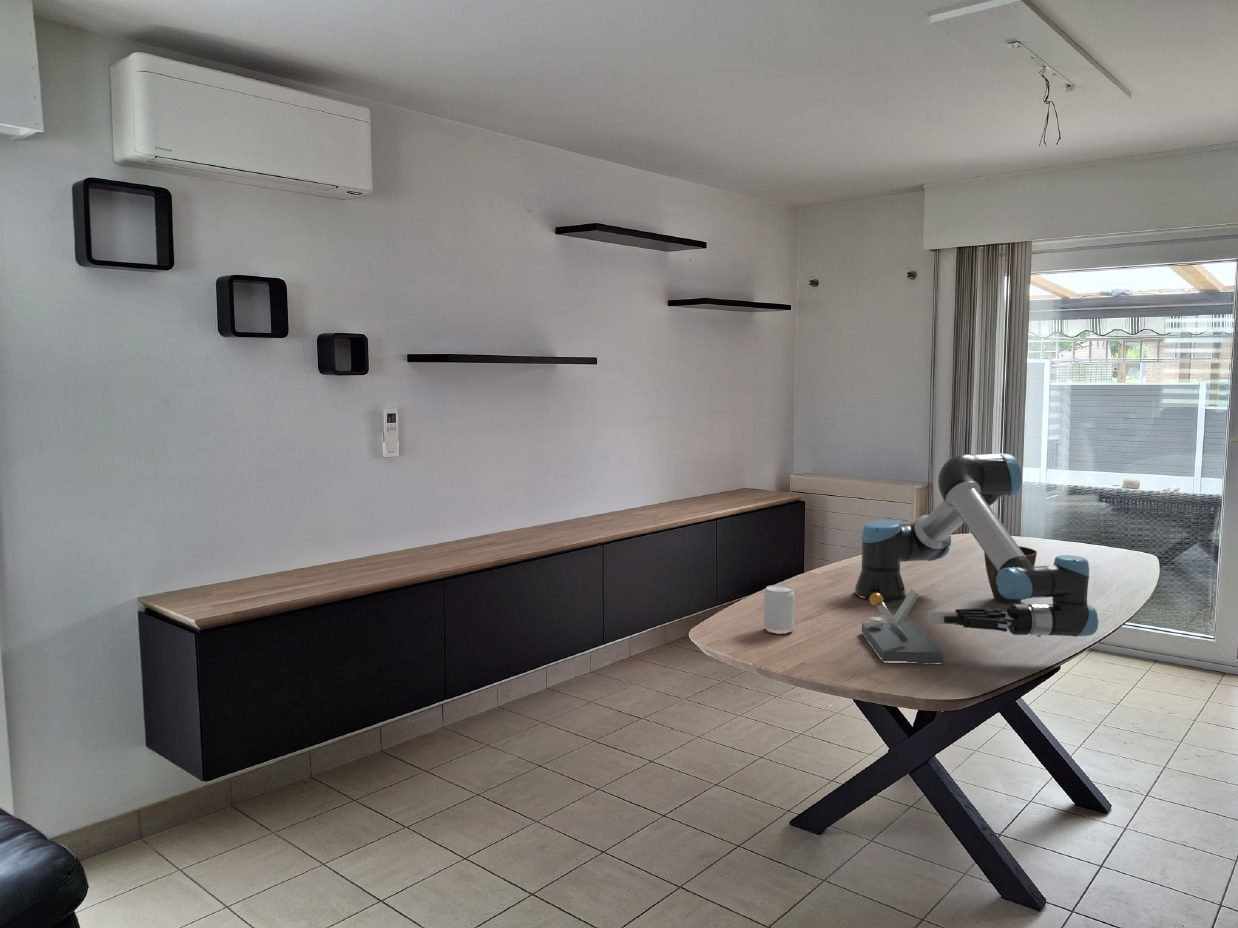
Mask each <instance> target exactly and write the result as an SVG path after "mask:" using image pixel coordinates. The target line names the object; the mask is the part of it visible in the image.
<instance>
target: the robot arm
mask: <svg viewBox="0 0 1238 928" xmlns="http://www.w3.org/2000/svg"><path fill="white" fill-rule="evenodd" d="M937 485H938V491H939V494H940V496H941V498H942V500H943V501H941V502H940V503H939V504H938V505H937V506H936V507H935V508H933V510H932V511H931V512H930V513H929V514H924V515H921V516H919V517H918V518H917V519H916V520H915V521H914V522H913V523H910V524H902V522H901V521H900V520H895V519H881V520H880V519H879V520H874V521H871V522H868V523H866V524H864V527H863V528H862V536H861V540H862V542H861V569H860V572H859V576H858V579H857V582H856V584H855V587H854V588H855V589H854V594H855V593H857V595H860V596H863V597H865V598H870V596H871V595H872V594H873V593H879V594H881V595H882V597H883V600H885V601H884V602H893V601H894V600H896V601H901V600H903V599H905V598H906V588H905V585H904V581H903V579H902V575H901V563H902V562H903V563H905V562H921V561H927V562H928V561H930V562H932V561H936V560H940V559H943V558H945V556H947V555H948V553H949V551H950V546H952V536H951V535H952V534H953V533H954V532H955V531H956V530H957V529H959V527H960V526H962V525H963V524H965V526H966V527H967V529H968V531H969V532H970V533H971V534H972V536H973V538H974V539H975V540H976V542H977V543H978V545H979V546H980V548H981V549H982V550H983V553H984V552H985V553H986V555H987V556H988V558H989V559H990V561H991V562H992V564H993V565H994V567H995V568H996V569H997V571H998V574H997V577H996V585H998V591H999V593H1000V594H1001V595H1002V596H1003V597H1005V598H1007V599H1020V600H1021V601H1022V600H1028V599H1042V598H1043V599H1044V598H1052V604H1051V603H1050V604H1049V603H1048V604H1045V603H1028V604H1026V603H1016V604H1009V606H1008V607H1007V610H1005V611H1004V610H1003V609H1001V608H994V609H992V608H991V607H990V606H986V607H985V606H984V607H975V608H956V609H955V610H954V611H928V614H927V615H928V616H927V617H928V618H927V623H928V624H929V625H955V626H958V625H959V626H962V628H964V629H981V630H991V631H1001V632H1005V633H1006V632H1007V631H1009V632H1010V634H1012V635H1013V636H1014V635H1015V636H1028V635H1031V636H1037V638H1041V637H1042V636H1062V637H1064V636H1065V637H1086V636H1088V637H1089V636H1093V635H1094V634H1095V633H1096V632H1097V630H1098V628H1099V619H1098V612H1097V610H1096V607H1094V606H1092V605H1090V604H1088V592H1089V591H1088V589H1089V581H1090V566H1089V565H1090V562H1089V561H1088V560H1087V558H1084V557H1082V556H1079V555H1069V554H1059V555H1057V556H1055V557H1054V562H1053V565H1038V566H1037V565H1036V566H1035V565H1034V566H1033V565H1032V564H1031V563H1030V561H1029V560H1028V559H1027V557H1026V556H1025V555H1024V553H1023V552H1022V551H1021V549H1020V548H1019V546H1020V545H1018V544H1017V542H1016V541H1015V539H1014V538H1013V537H1012V536H1011V534H1010V532H1009V531H1008V530H1007V529H1006V527H1005V526H1004V524H1003V522H1002V521H1001V520H1000V518H999V517H998V516H997V515H996V513H995V512H994V510H993V509H992V507H990V506H991V505H993V504H995V503H996V501H998V500H999V499H1000V498H1002V497H1003V496H1004V497H1005V496H1007V497H1011V496H1014V495H1016V494H1018V492H1019V491H1020V490H1021V488H1022V485H1023V470H1022V467H1021V465H1020V462H1019V460H1018V459H1017V458H1016V457H1015V456H1014V455H1012V454H1011V453H1010V454H1009V453H1001V452H997V453H978V454H976V453H975V454H972V453H971V454H967V453H965V454H964V453H963V454H959V455H955V456H952V457H951V458H950V459H948V460H947V461H946V462H945V463H944V464H943V466H941V468H940V471H939V473H938V478H937ZM857 595H856V596H857ZM865 598H864V599H865ZM900 599H901V600H900ZM892 600H893V601H892Z"/></svg>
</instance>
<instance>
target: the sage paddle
mask: <svg viewBox="0 0 1238 928" xmlns="http://www.w3.org/2000/svg"><path fill="white" fill-rule="evenodd" d="M919 597H920V594H919V593H918V592H917V591H915V590H914V588H911V589H910V591H909V592H908V593H907V595H906V596H905V598H904V600H903V601H902V603H901V605H899V608H898V609H897V611H896V612H895V614H894V615H893V617H894V619H895V620H896V622H897V623H898V625H899V626H900V625H901V623H903V621H904V620H905V618H906V617H907V615H908V613H910V610H911V609H912V607H913V606H914V604H915V603H916V601H917V600H918V598H919Z"/></svg>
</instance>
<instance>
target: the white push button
mask: <svg viewBox="0 0 1238 928" xmlns="http://www.w3.org/2000/svg"><path fill="white" fill-rule="evenodd" d="M868 623H869V626H871V627H883V623H884V619H883V618H882V617H880V616H871V617H868Z"/></svg>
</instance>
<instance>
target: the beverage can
mask: <svg viewBox="0 0 1238 928" xmlns="http://www.w3.org/2000/svg"><path fill="white" fill-rule="evenodd" d="M765 587H766V588H765V590H764V594H763V596H764V597H763V627H764V626H765V627H767V628H768V629H773V630H791V629H793V628H795V599H796V598H795V597H796V596H795V592H794V588H793V587H791V586H789V585H783V584H781V585H780V584H774V585H773V584H772V585H768V586H765Z"/></svg>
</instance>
